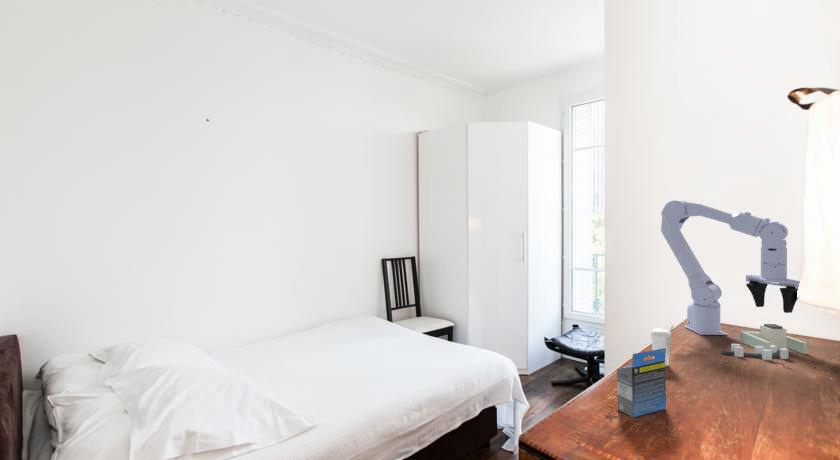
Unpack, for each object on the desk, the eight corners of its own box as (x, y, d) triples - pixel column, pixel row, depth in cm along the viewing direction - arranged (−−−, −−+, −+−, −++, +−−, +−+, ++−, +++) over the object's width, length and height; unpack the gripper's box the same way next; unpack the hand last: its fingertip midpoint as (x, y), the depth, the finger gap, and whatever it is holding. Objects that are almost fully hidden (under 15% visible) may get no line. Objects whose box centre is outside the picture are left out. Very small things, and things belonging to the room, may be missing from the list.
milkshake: (678, 367, 98) (678, 328, 98) (657, 367, 98) (657, 328, 98) (667, 360, 103) (667, 323, 102) (647, 361, 103) (646, 323, 103)
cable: (719, 352, 108) (719, 349, 108) (786, 353, 106) (786, 350, 106) (729, 357, 104) (729, 354, 104) (798, 358, 102) (798, 355, 102)
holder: (739, 341, 117) (739, 331, 117) (776, 341, 116) (776, 331, 116) (767, 353, 107) (767, 342, 107) (807, 354, 106) (807, 343, 106)
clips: (727, 352, 108) (727, 343, 108) (775, 353, 107) (775, 344, 107) (741, 359, 103) (741, 350, 102) (793, 360, 101) (793, 350, 101)
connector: (775, 346, 112) (775, 323, 112) (786, 350, 108) (786, 327, 108) (759, 346, 113) (760, 323, 113) (770, 350, 109) (770, 327, 109)
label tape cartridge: (649, 401, 81) (649, 342, 80) (667, 409, 77) (666, 347, 77) (616, 409, 78) (616, 347, 77) (633, 418, 74) (632, 354, 74)
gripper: (737, 261, 121) (737, 305, 121) (790, 266, 107) (790, 316, 107) (756, 260, 122) (756, 303, 123) (810, 265, 108) (810, 314, 108)
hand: (773, 309), depth 115 cm, fingers open, 7 cm apart
